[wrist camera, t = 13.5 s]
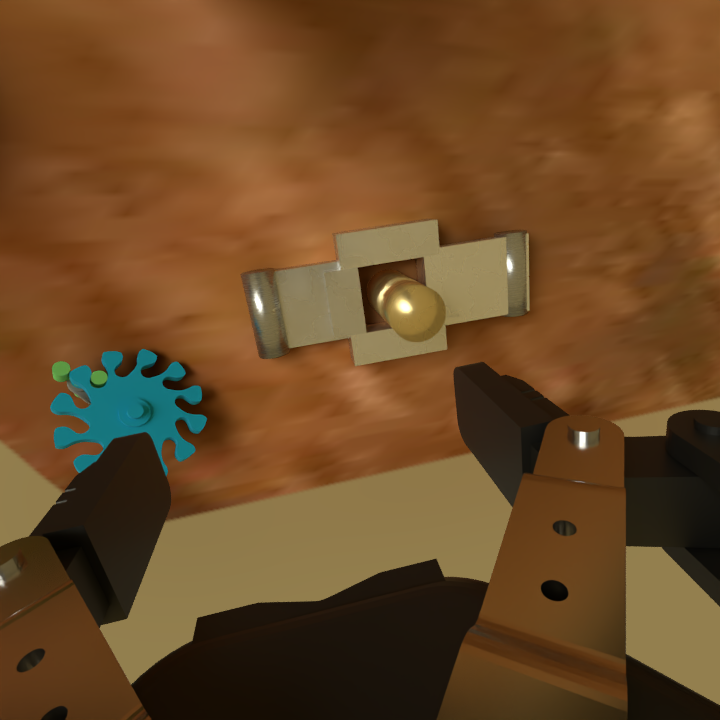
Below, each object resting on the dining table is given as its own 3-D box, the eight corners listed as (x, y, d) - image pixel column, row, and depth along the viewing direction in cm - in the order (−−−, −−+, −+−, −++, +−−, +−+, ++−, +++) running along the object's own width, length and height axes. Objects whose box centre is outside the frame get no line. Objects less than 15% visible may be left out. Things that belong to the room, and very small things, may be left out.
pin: (363, 273, 35) (387, 291, 27) (406, 266, 36) (443, 282, 27) (369, 316, 37) (394, 346, 28) (410, 309, 37) (447, 337, 28)
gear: (235, 403, 35) (143, 514, 29) (216, 422, 40) (133, 522, 34) (117, 310, 33) (-8, 409, 27) (111, 341, 38) (4, 432, 32)
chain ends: (236, 247, 33) (232, 250, 31) (515, 205, 36) (532, 205, 33) (264, 372, 37) (262, 384, 34) (517, 326, 39) (534, 334, 36)
